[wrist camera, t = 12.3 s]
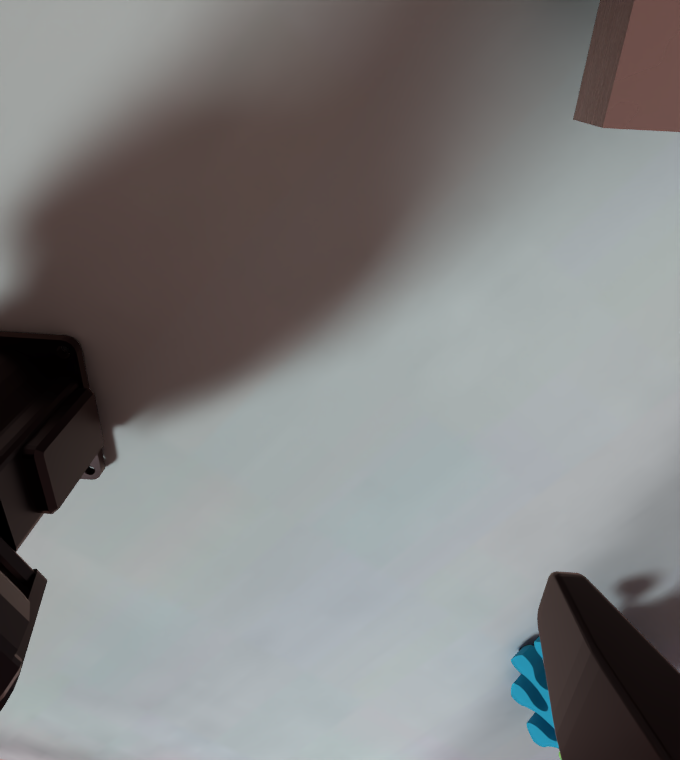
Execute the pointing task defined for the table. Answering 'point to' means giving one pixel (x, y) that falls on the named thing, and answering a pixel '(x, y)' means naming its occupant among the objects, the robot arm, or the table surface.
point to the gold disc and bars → (633, 67)
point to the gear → (534, 694)
